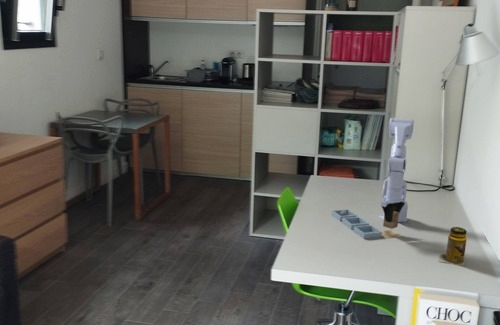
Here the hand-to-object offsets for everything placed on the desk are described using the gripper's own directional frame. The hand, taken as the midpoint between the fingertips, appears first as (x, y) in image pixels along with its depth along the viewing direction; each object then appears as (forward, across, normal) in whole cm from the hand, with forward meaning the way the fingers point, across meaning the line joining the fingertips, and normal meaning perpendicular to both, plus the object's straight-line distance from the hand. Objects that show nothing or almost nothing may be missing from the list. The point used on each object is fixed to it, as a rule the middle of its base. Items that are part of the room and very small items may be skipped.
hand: (391, 220), depth 203 cm
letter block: (+3, 0, 0) cm, 3 cm away
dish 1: (+6, -1, -24) cm, 25 cm away
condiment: (+7, +3, +27) cm, 28 cm away
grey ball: (+6, -1, -24) cm, 25 cm away
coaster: (+6, 0, 0) cm, 6 cm away
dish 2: (+6, +3, -15) cm, 16 cm away
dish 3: (+6, +7, -6) cm, 11 cm away
